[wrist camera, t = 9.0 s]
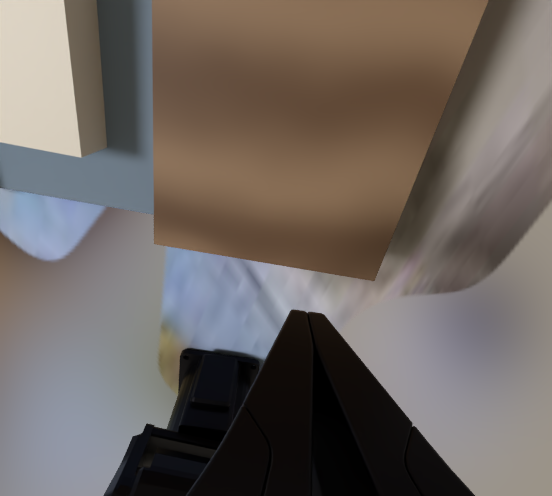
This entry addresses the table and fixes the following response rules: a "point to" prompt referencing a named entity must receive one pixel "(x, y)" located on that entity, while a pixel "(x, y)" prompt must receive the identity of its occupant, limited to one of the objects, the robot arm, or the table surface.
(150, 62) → the gray lipped tray
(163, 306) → the table surface
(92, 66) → the cream rectangular block
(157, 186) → the brown box
